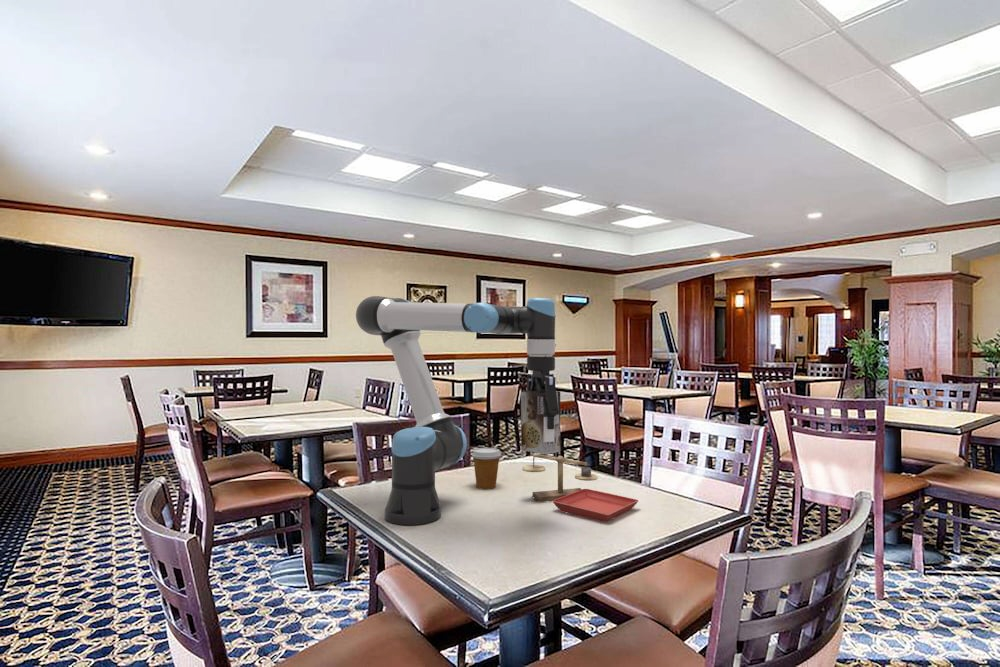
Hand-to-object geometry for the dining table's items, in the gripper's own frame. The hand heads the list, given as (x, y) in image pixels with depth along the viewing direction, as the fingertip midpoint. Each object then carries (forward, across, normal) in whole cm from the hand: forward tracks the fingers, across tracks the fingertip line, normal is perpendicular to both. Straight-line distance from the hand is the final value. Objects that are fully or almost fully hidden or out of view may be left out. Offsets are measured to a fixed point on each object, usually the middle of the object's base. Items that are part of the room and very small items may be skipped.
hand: (540, 438), depth 147 cm
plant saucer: (+22, +3, -18) cm, 29 cm away
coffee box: (+4, 0, 0) cm, 4 cm away
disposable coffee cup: (+22, +37, +4) cm, 43 cm away
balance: (+22, +18, -14) cm, 32 cm away
